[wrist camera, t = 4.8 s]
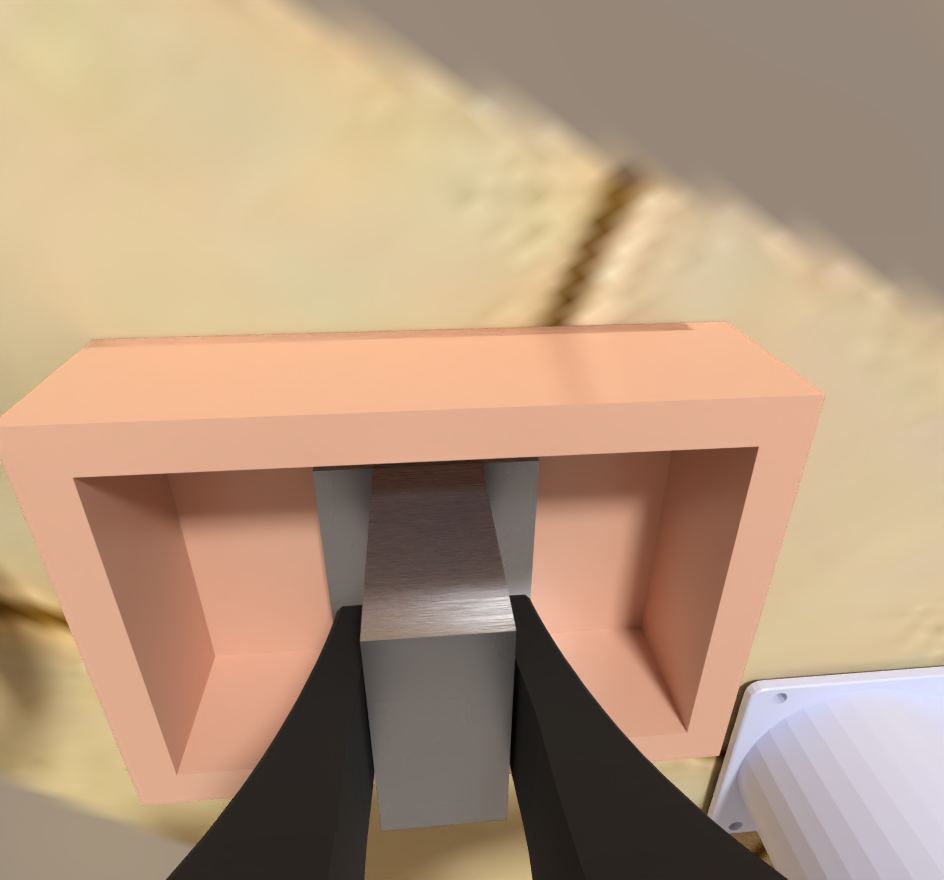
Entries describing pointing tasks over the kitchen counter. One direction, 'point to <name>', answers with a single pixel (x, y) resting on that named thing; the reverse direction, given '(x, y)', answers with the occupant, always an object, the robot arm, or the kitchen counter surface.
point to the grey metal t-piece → (434, 622)
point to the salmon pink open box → (399, 441)
